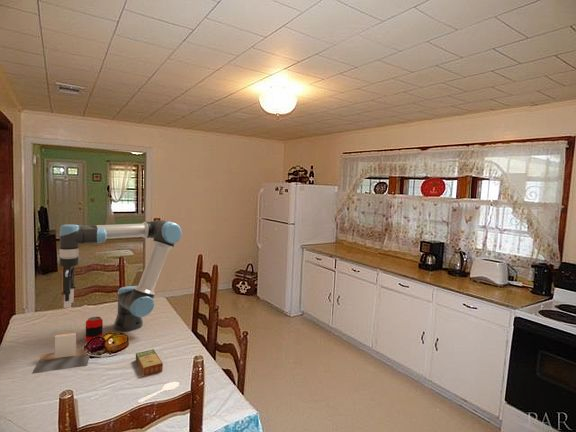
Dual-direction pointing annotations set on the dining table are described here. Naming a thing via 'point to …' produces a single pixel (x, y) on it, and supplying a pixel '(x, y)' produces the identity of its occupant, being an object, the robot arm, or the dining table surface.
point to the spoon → (165, 388)
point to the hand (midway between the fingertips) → (68, 304)
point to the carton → (149, 362)
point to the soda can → (93, 328)
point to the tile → (65, 345)
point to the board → (61, 362)
